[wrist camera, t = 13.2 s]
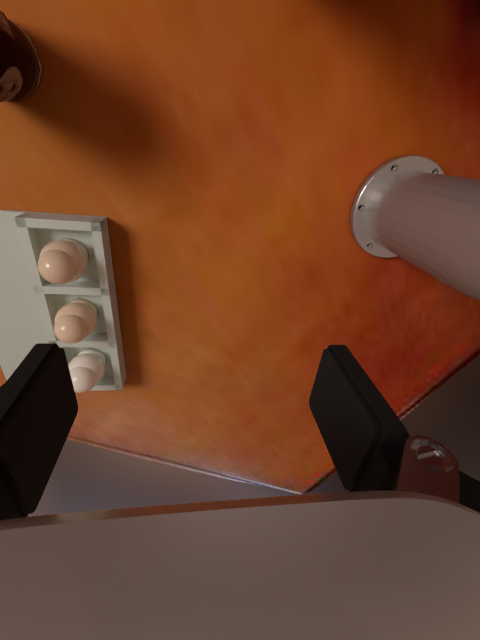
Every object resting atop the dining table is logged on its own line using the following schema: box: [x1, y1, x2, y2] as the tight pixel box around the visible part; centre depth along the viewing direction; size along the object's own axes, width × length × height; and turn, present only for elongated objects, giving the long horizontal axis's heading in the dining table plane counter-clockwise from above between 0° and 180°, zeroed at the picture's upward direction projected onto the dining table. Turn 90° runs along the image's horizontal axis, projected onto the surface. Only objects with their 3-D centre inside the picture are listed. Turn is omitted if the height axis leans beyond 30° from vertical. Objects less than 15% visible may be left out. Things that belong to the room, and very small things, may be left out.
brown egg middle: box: [54, 298, 99, 344], centre depth 38 cm, size 5×5×6 cm
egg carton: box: [0, 210, 126, 391], centre depth 40 cm, size 25×17×3 cm
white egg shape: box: [68, 348, 106, 393], centre depth 42 cm, size 5×5×6 cm
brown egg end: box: [38, 238, 90, 284], centre depth 34 cm, size 5×5×6 cm
